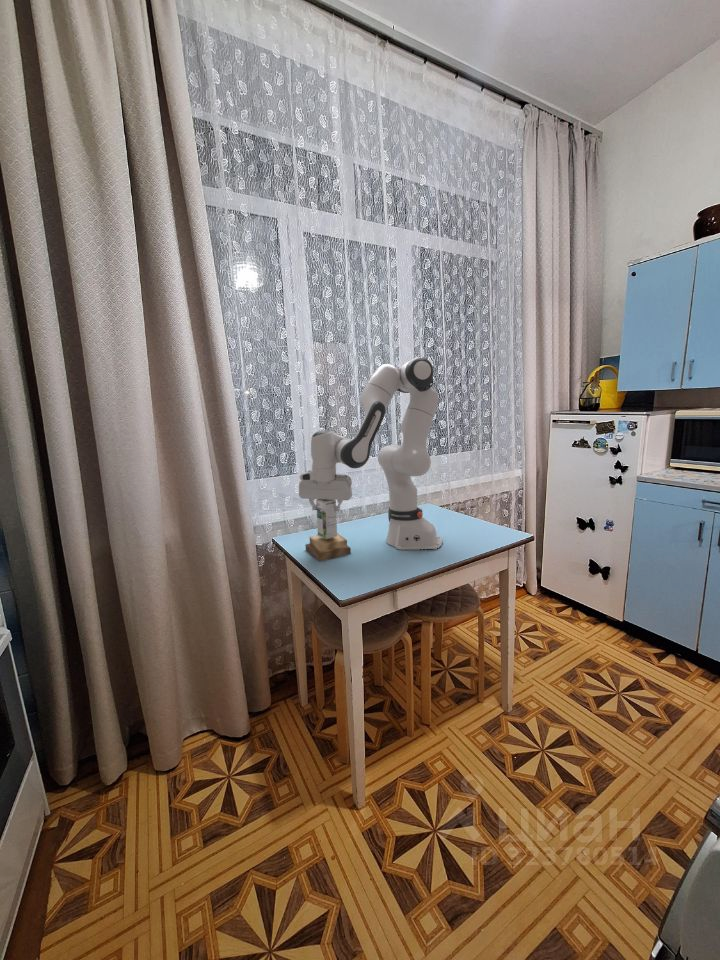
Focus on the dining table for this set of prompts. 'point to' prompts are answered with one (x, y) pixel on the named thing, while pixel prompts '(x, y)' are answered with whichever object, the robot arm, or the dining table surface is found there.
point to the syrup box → (326, 518)
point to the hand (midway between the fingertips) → (326, 510)
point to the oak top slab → (328, 543)
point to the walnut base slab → (327, 554)
